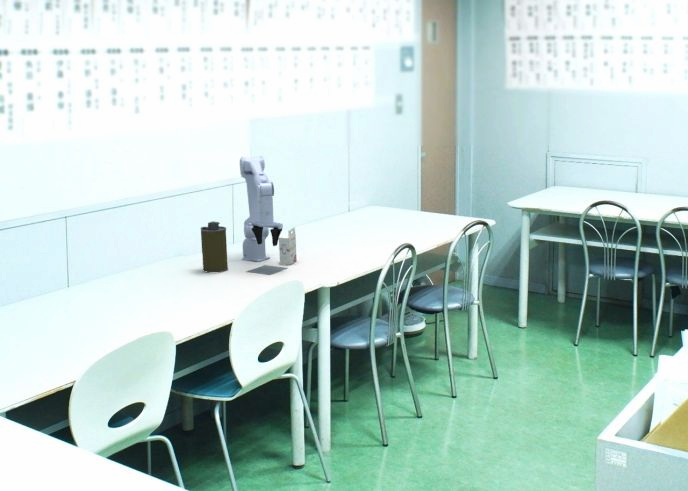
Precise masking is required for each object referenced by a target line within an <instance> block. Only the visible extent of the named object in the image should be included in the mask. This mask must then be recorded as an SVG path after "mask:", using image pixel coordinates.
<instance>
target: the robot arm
mask: <svg viewBox="0 0 688 491" xmlns="http://www.w3.org/2000/svg"><path fill="white" fill-rule="evenodd" d="M265 165H266V164H265V158H264V157H263V156H262V155H260V156H248V157H244V156H243V157H240V159H239V170H240V171H239V172H240V176H241V178H243V179H244V180H245V183H246V192H247V193H246V194H247V203H248V212H249V217H247V218H246V219H245V220H244V222H243V234H244V237H245V239H244V240H243V242H242V258H241V260H244V261H250V262H251V261H253V262H262V261H265V260H268V259H270V258H271V257H270V256H267V253H266V252H267V251H266V240H267V238H268V237H269V233H271V238H272V240H271V241H272V246H273V247H276V246H278V244H279V237H281V233H282V231H283V228H284V227H283V223H280V222H275V221H274V204H273V203H274V201H273V200H274V199H273V197H274V195H275V186H274V183H273V182H272V181H270V180H269V178H268V175H267V174H266V173H265V172H264V170H265V167H266V166H265ZM269 231H270V232H269Z"/></svg>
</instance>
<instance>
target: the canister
mask: <svg viewBox="0 0 688 491" xmlns="http://www.w3.org/2000/svg"><path fill="white" fill-rule="evenodd" d="M226 231H227V227H225V226H220V222H219V221H209V222H208V223H207V226H202V227H200V240H201V241H200V242H201V254H202V271H203V270H204V271H207V272H206V273H209V272H218V273H222V272H227V271H228V270H229V266H228V251H227V250H228V249H227V232H226ZM204 271H203V272H204Z"/></svg>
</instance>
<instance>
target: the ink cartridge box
mask: <svg viewBox="0 0 688 491" xmlns="http://www.w3.org/2000/svg"><path fill="white" fill-rule="evenodd" d="M295 228H296V227H291V229H289V230H288V231H287V233H284V234H283V235H280V236H279V239H278V246H279V247H278V249H279V250H278V251H279V252H278V253H279V265H280V266H282V265H283V266H290V265H292V264H294V263H296V262H297V238H296V235H297V234H296V229H295Z"/></svg>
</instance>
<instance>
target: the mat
mask: <svg viewBox="0 0 688 491" xmlns="http://www.w3.org/2000/svg"><path fill="white" fill-rule="evenodd" d="M287 269H289V267H285V266H274V265H269V264H268V265H267V264H264V265H262V266H258V267H255V268H252V269H250V270H246V271H245V272H246V273H251V274H259V275H266V276H268V275H269V276H271V275H273V274H277V273H279V272H282V271H285V270H287Z"/></svg>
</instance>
